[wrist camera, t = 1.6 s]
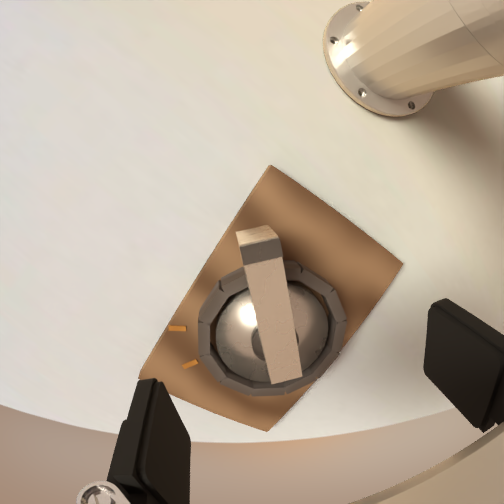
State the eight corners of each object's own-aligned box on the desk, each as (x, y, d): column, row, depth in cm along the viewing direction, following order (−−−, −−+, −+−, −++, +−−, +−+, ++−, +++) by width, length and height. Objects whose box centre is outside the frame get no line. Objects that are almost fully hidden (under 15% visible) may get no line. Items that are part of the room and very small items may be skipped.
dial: (327, 357, 30) (351, 398, 23) (230, 381, 29) (234, 428, 23) (307, 209, 26) (336, 223, 19) (188, 236, 25) (178, 259, 19)
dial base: (267, 164, 26) (275, 164, 23) (395, 259, 30) (415, 270, 26) (139, 369, 30) (132, 391, 26) (265, 423, 34) (270, 445, 30)
